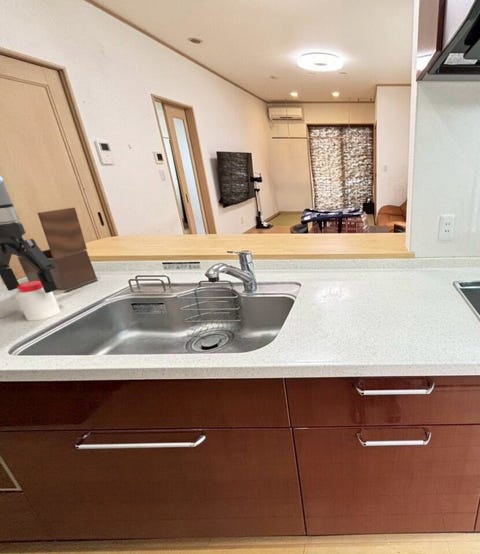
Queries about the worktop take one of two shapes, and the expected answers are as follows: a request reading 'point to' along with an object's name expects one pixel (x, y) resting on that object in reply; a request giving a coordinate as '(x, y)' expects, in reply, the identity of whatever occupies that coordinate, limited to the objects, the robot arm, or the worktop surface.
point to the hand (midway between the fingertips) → (32, 290)
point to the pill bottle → (36, 301)
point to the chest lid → (62, 231)
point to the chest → (65, 270)
